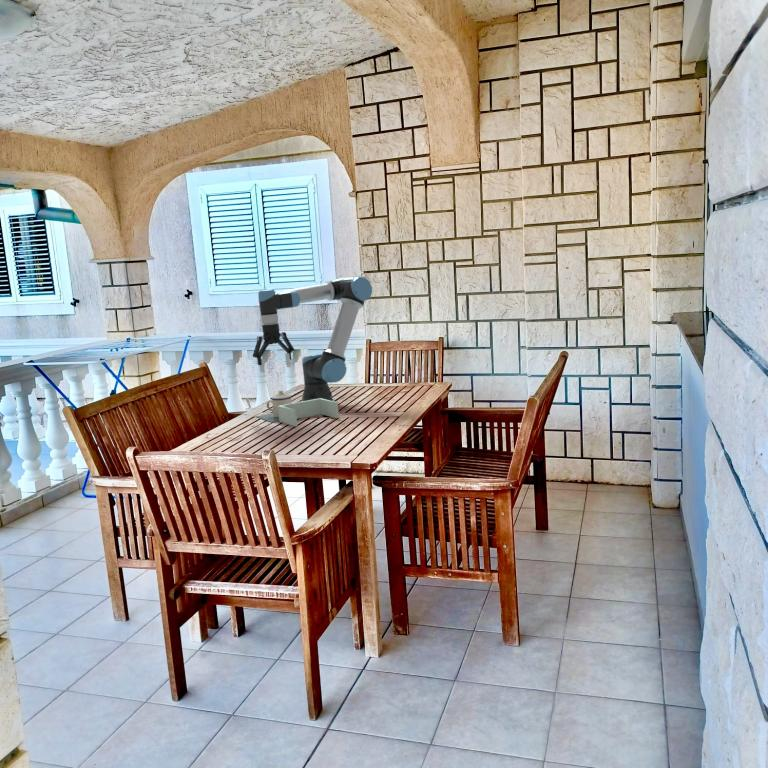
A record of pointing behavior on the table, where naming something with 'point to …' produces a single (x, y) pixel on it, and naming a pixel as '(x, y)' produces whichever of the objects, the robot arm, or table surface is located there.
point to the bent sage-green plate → (307, 410)
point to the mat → (269, 418)
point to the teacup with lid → (279, 402)
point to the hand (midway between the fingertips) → (275, 369)
